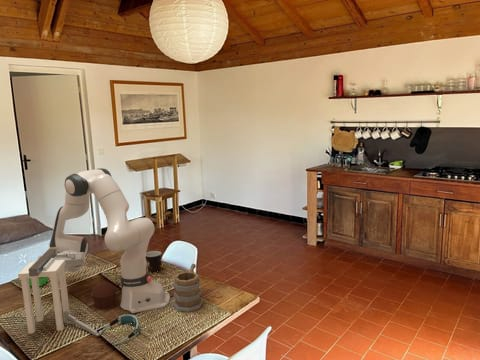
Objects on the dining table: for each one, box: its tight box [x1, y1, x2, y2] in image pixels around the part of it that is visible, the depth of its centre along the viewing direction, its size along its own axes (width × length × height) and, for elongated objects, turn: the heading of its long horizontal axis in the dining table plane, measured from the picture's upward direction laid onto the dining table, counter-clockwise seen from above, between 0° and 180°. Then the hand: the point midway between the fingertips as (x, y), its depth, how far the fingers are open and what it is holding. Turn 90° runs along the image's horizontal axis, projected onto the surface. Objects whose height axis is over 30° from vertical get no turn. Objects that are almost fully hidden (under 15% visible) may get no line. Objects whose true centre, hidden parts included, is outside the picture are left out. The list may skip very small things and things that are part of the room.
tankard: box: [172, 263, 204, 313], centre depth 174 cm, size 20×13×15 cm, turn 168°
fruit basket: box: [29, 276, 49, 287], centre depth 196 cm, size 11×9×11 cm
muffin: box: [90, 282, 118, 311], centre depth 173 cm, size 12×11×10 cm
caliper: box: [62, 310, 100, 337], centre depth 154 cm, size 20×1×6 cm, turn 61°
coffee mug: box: [146, 250, 162, 273], centre depth 208 cm, size 12×9×10 cm
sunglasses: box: [96, 314, 140, 348], centre depth 151 cm, size 14×15×5 cm
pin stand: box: [18, 258, 71, 335], centre depth 156 cm, size 14×12×28 cm
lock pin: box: [28, 246, 59, 277], centre depth 156 cm, size 3×24×3 cm, turn 8°
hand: (56, 255), depth 170 cm, fingers open, 8 cm apart
